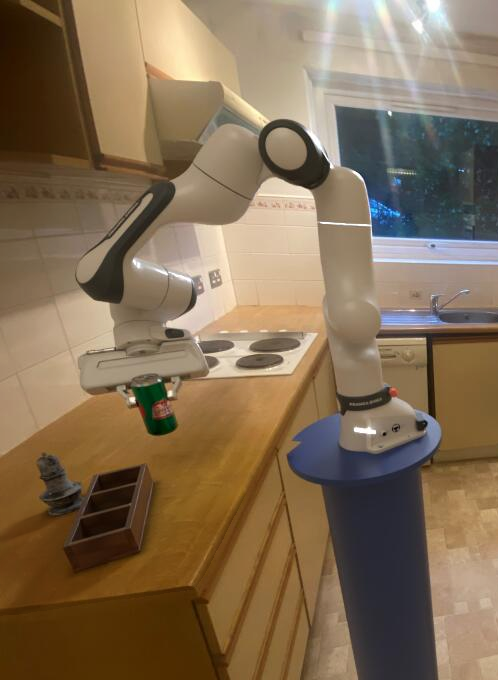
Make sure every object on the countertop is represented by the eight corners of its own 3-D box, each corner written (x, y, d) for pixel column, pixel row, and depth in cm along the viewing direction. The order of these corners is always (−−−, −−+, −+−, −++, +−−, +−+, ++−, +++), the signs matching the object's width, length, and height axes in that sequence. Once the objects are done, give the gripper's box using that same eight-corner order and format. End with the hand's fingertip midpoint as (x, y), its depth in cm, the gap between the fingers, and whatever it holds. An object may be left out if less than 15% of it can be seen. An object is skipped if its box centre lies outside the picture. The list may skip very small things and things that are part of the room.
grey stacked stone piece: (80, 493, 87) (56, 441, 82) (95, 501, 84) (71, 448, 80) (40, 510, 82) (13, 455, 77) (55, 520, 79) (27, 464, 75)
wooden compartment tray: (153, 483, 90) (146, 462, 88) (140, 552, 72) (130, 528, 70) (102, 496, 86) (93, 475, 84) (74, 572, 68) (62, 547, 66)
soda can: (163, 438, 86) (143, 383, 82) (142, 436, 87) (121, 381, 83) (185, 426, 91) (167, 373, 86) (164, 424, 92) (146, 371, 87)
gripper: (69, 344, 82) (76, 409, 78) (198, 328, 92) (210, 386, 89) (83, 359, 87) (91, 422, 84) (204, 343, 98) (216, 398, 94)
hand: (153, 403), depth 86 cm, fingers closed on soda can, 5 cm apart
